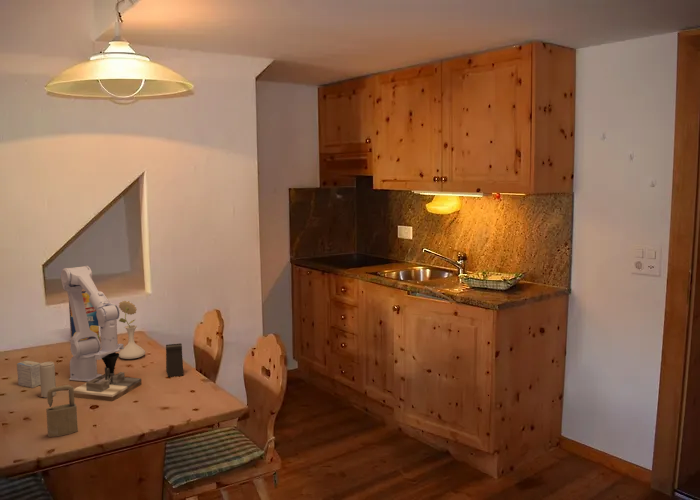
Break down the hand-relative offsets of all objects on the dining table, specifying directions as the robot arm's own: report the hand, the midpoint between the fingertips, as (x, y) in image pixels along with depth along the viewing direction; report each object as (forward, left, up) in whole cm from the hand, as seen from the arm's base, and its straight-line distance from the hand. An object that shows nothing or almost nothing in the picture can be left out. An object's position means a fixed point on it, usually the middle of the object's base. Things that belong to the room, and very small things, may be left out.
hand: (110, 372), depth 226 cm
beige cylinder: (-17, -13, -6) cm, 22 cm away
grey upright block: (-32, -5, -6) cm, 33 cm away
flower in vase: (-16, +36, -6) cm, 40 cm away
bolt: (0, -5, -3) cm, 6 cm away
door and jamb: (0, -3, -6) cm, 6 cm away
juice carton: (-52, +53, -6) cm, 75 cm away
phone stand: (+14, +21, -6) cm, 26 cm away
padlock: (+10, -39, -6) cm, 40 cm away
